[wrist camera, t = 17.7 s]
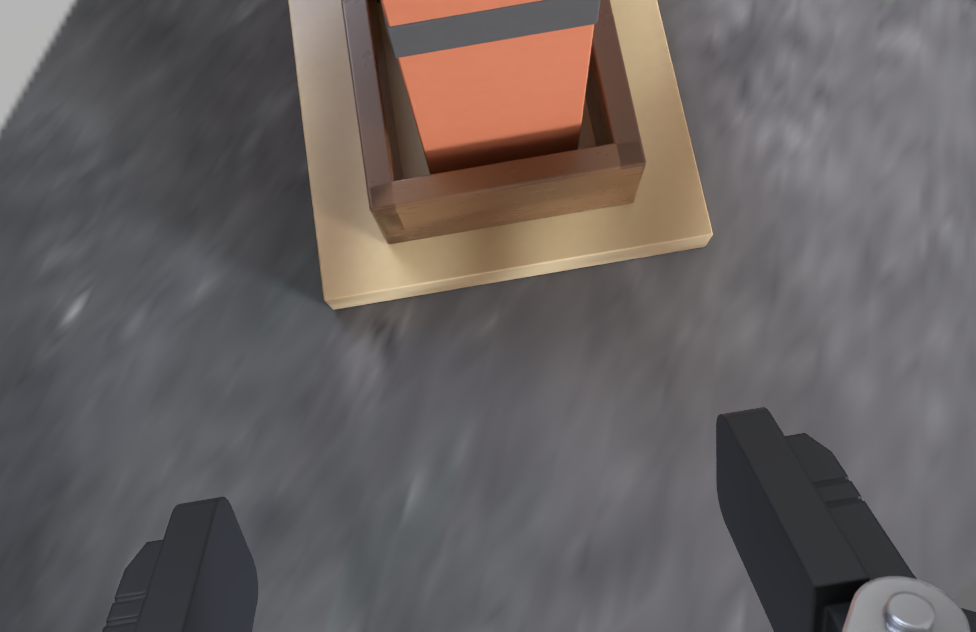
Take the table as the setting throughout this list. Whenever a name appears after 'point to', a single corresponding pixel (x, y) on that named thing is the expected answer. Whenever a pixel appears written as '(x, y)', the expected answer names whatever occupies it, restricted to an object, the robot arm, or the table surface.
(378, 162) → the base pad
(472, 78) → the orange striped block
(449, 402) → the table surface
